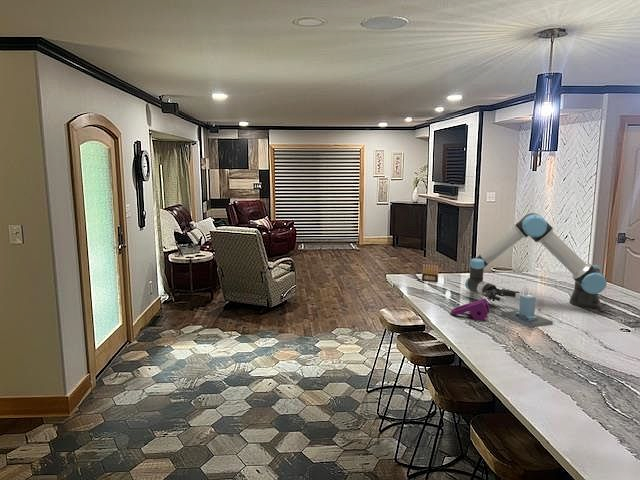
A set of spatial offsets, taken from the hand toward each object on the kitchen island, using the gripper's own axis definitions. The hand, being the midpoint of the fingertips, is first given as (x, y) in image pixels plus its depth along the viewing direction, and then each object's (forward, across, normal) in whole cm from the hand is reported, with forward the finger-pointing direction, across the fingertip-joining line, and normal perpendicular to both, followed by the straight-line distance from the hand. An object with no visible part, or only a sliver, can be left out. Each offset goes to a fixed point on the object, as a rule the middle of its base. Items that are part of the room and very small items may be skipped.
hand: (515, 299), depth 247 cm
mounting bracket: (-6, +24, -9) cm, 26 cm away
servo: (+8, 0, -8) cm, 12 cm away
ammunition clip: (-78, -1, -9) cm, 79 cm away
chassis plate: (+8, 0, -8) cm, 12 cm away
